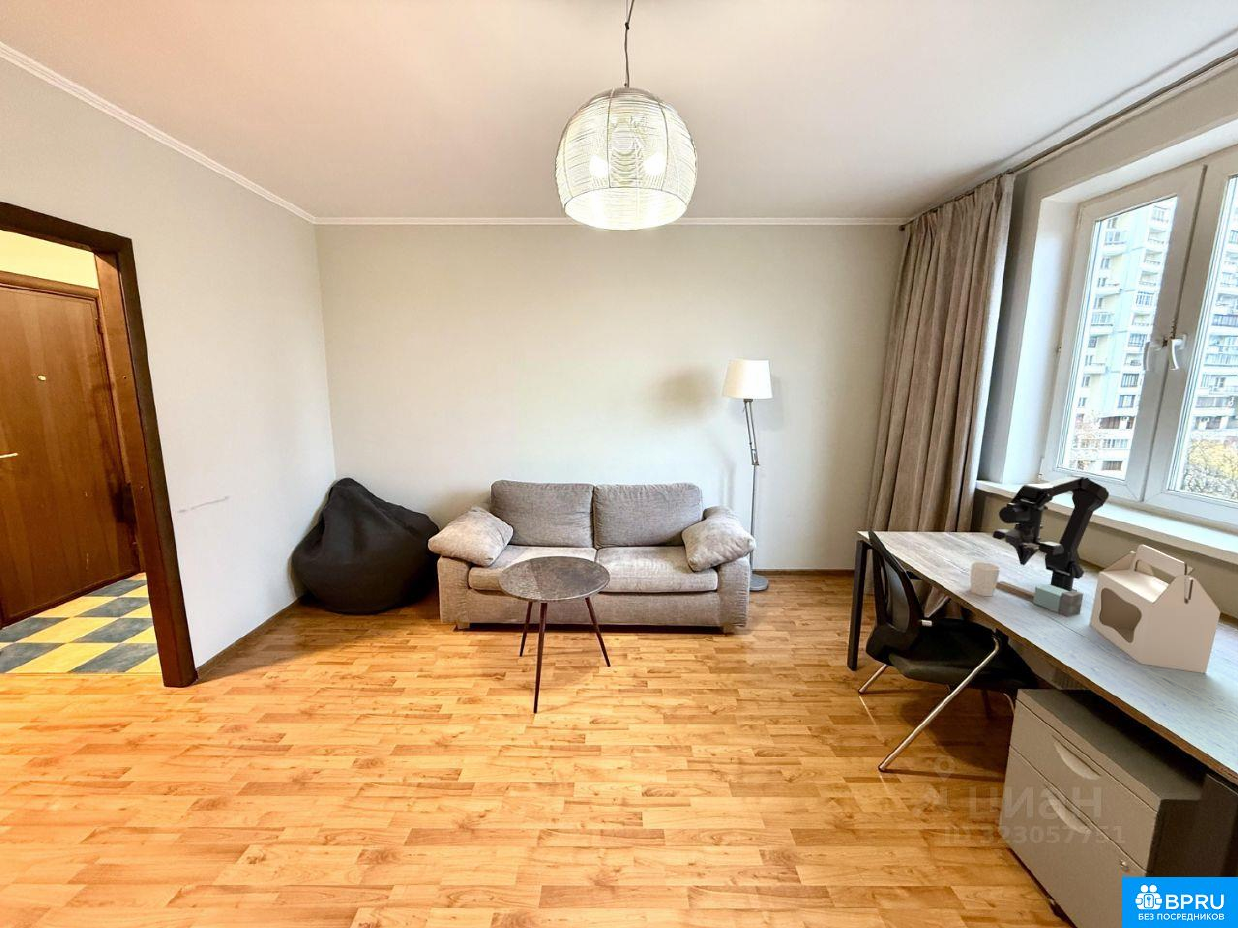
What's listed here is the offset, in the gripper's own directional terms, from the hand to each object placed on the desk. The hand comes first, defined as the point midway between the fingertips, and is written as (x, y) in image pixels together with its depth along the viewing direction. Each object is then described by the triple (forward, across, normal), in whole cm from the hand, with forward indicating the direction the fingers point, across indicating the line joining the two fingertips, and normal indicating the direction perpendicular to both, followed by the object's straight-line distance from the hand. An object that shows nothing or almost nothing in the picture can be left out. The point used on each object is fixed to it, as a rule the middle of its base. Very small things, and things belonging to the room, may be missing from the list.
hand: (1022, 564), depth 163 cm
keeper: (+11, +10, 0) cm, 15 cm away
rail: (+11, +5, 0) cm, 12 cm away
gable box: (+11, +34, -4) cm, 36 cm away
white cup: (+11, -5, -11) cm, 16 cm away
